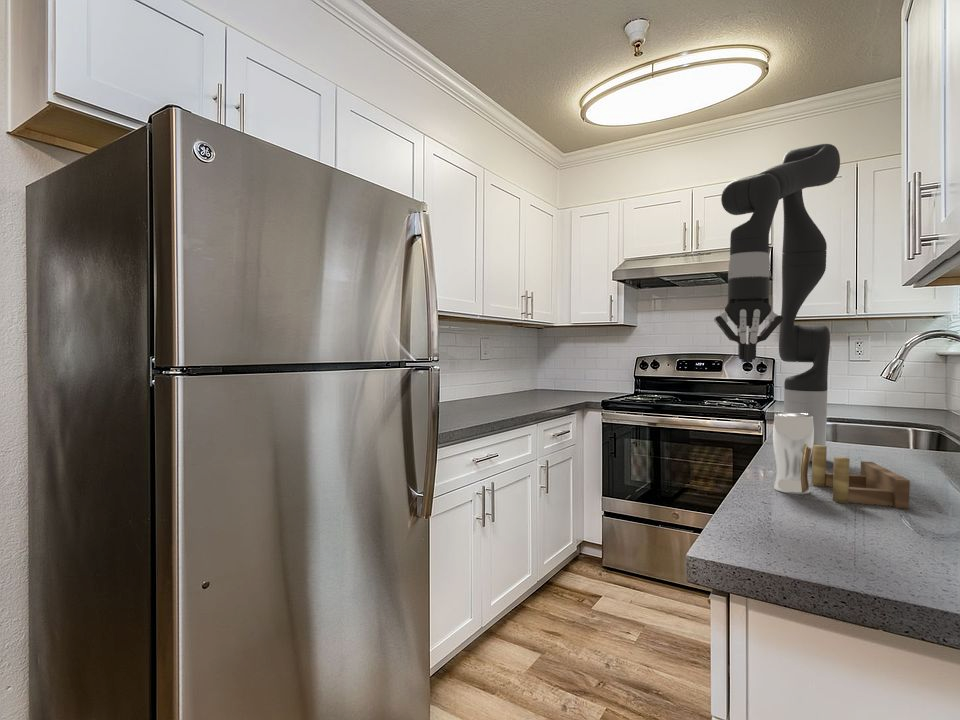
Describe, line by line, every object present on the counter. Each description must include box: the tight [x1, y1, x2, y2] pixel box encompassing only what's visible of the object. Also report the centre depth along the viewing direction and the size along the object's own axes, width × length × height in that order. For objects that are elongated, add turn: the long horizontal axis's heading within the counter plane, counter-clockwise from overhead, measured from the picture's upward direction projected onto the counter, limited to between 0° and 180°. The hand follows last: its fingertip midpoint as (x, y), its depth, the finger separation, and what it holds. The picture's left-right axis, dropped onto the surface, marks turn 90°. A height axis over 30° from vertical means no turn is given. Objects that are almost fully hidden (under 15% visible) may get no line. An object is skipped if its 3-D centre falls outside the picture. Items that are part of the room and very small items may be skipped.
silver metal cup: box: [772, 411, 814, 495], centre depth 107 cm, size 7×7×15 cm
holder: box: [811, 445, 911, 510], centre depth 104 cm, size 15×11×8 cm
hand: (746, 362), depth 111 cm, fingers closed
